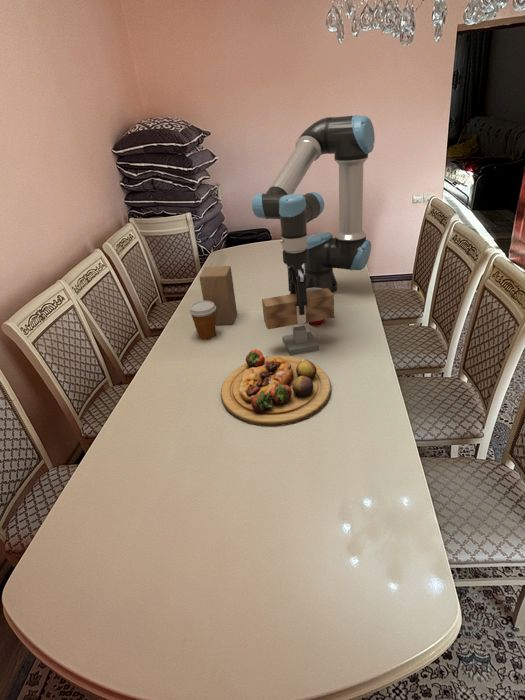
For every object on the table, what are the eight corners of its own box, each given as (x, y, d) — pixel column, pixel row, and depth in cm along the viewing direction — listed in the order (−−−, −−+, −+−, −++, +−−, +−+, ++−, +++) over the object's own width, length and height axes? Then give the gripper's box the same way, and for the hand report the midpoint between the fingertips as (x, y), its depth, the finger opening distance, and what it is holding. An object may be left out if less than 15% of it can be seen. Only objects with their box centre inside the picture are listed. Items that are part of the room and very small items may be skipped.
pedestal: (310, 336, 157) (309, 319, 154) (319, 350, 148) (318, 332, 145) (282, 341, 156) (281, 324, 152) (289, 355, 147) (288, 338, 144)
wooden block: (237, 313, 178) (230, 265, 168) (233, 325, 170) (226, 275, 160) (212, 314, 180) (204, 266, 170) (207, 326, 171) (198, 276, 161)
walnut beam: (328, 310, 151) (327, 287, 147) (334, 317, 146) (333, 294, 142) (264, 321, 148) (261, 299, 144) (267, 329, 143) (265, 306, 139)
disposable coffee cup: (189, 340, 163) (183, 310, 157) (202, 328, 170) (197, 299, 164) (212, 343, 159) (207, 312, 153) (224, 330, 166) (220, 301, 160)
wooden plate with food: (215, 372, 143) (211, 350, 139) (312, 353, 147) (311, 331, 143) (229, 439, 116) (225, 415, 112) (347, 414, 120) (347, 389, 116)
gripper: (275, 242, 143) (281, 308, 154) (290, 261, 126) (295, 333, 138) (298, 238, 144) (302, 304, 155) (316, 257, 127) (318, 329, 139)
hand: (298, 318), depth 147 cm, fingers closed on walnut beam, 6 cm apart
